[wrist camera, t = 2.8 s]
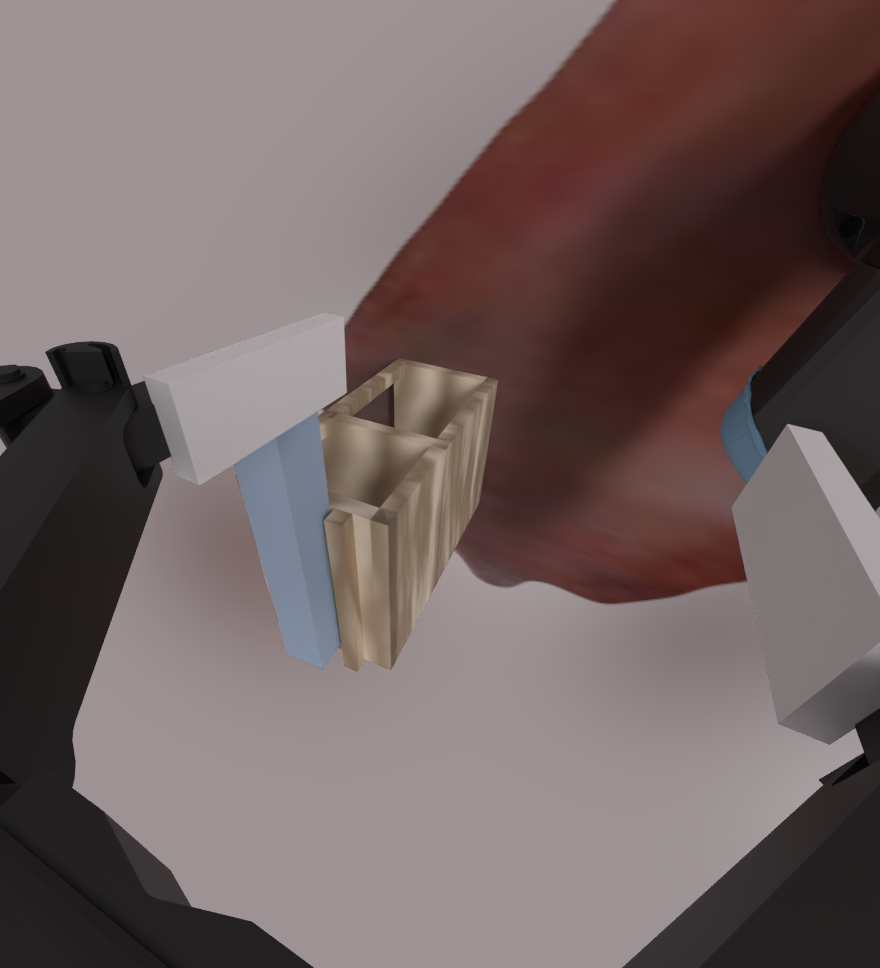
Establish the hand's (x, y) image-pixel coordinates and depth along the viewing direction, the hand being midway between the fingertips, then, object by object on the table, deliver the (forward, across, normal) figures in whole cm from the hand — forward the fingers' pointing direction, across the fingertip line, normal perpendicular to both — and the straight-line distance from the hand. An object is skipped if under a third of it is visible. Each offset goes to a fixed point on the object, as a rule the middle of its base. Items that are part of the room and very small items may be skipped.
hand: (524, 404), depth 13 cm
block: (+8, -16, -20) cm, 27 cm away
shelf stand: (+38, -17, -25) cm, 49 cm away
